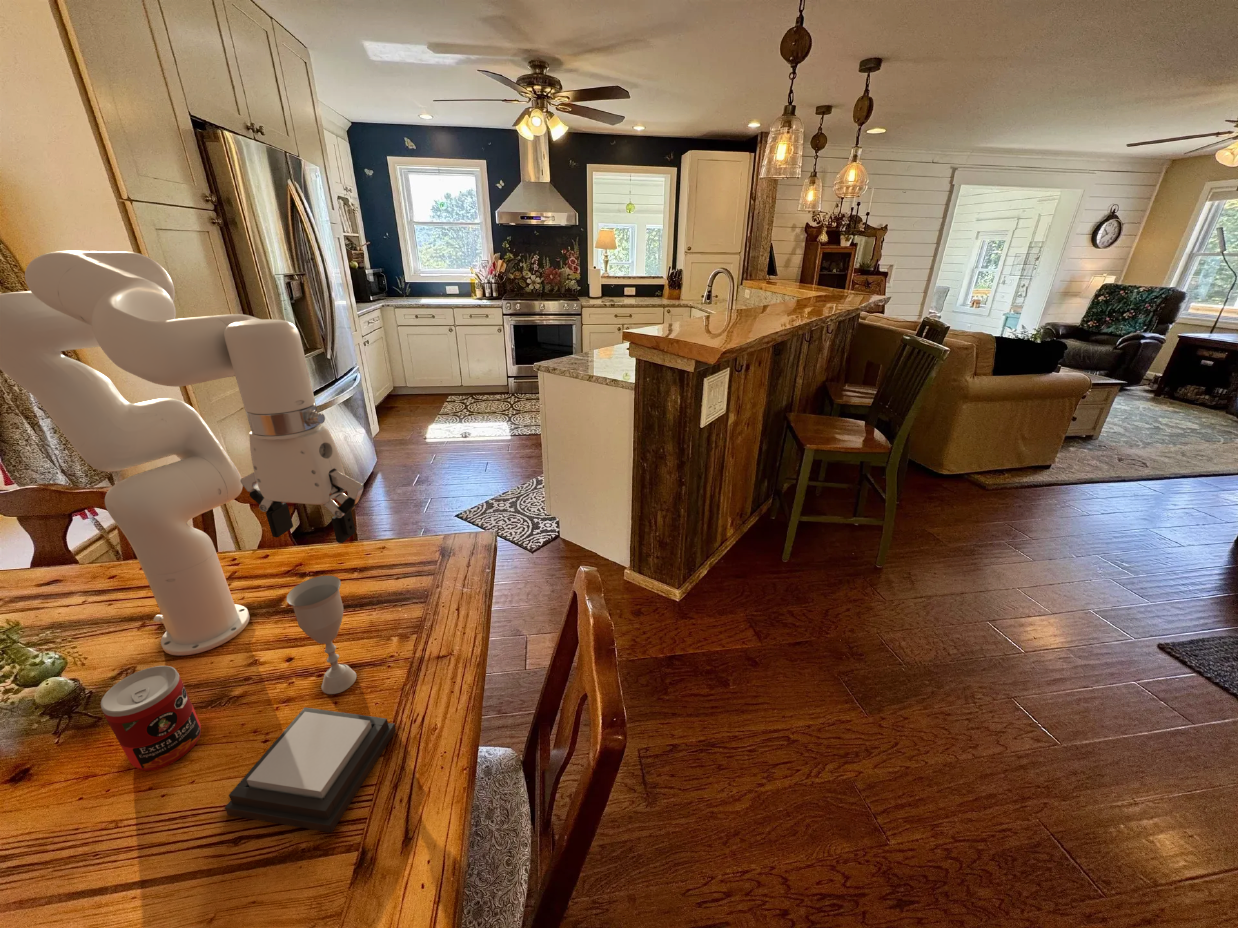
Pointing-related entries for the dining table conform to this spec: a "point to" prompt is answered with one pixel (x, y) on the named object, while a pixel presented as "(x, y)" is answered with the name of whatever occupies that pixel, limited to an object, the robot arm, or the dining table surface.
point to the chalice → (323, 624)
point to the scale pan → (310, 755)
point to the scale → (310, 809)
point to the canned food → (152, 717)
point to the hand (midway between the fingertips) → (314, 535)
